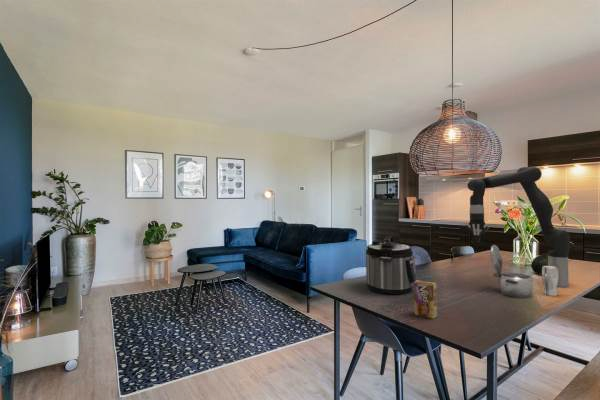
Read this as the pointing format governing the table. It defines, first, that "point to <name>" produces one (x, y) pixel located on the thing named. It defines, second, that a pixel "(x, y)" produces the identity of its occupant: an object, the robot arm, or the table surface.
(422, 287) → the candy box
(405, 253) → the pressure cooker
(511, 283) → the pot
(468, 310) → the table surface
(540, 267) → the squash
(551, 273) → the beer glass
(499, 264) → the lid
